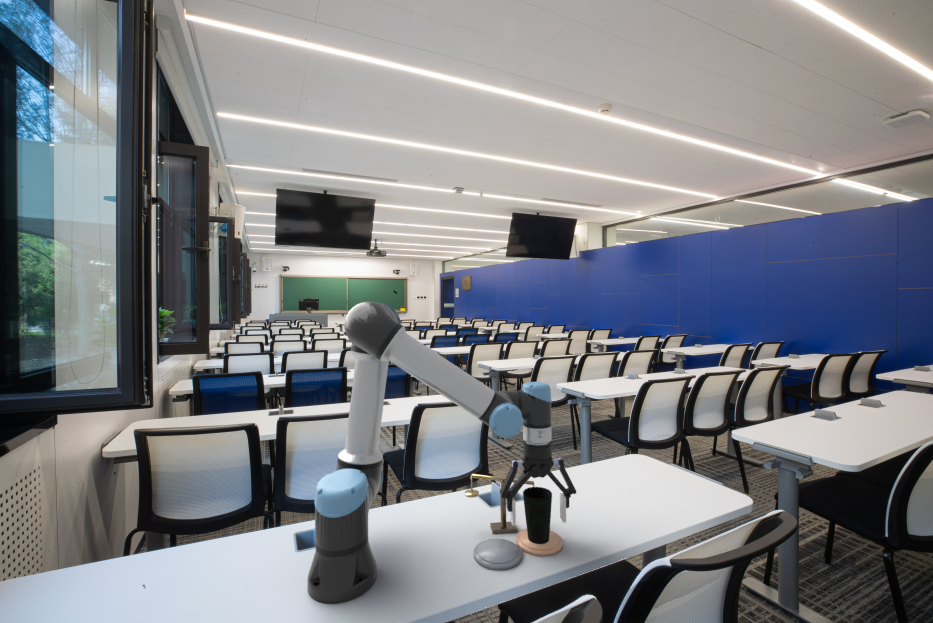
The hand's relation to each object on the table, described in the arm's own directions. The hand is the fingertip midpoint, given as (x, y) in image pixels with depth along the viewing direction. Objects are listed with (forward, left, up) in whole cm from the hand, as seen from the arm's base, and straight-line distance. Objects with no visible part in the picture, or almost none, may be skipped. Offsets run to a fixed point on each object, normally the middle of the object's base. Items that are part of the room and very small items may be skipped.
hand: (538, 521), depth 107 cm
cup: (0, 0, -5) cm, 5 cm away
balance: (-8, +8, -6) cm, 12 cm away
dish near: (-12, -4, -6) cm, 14 cm away
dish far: (0, 0, -6) cm, 6 cm away
